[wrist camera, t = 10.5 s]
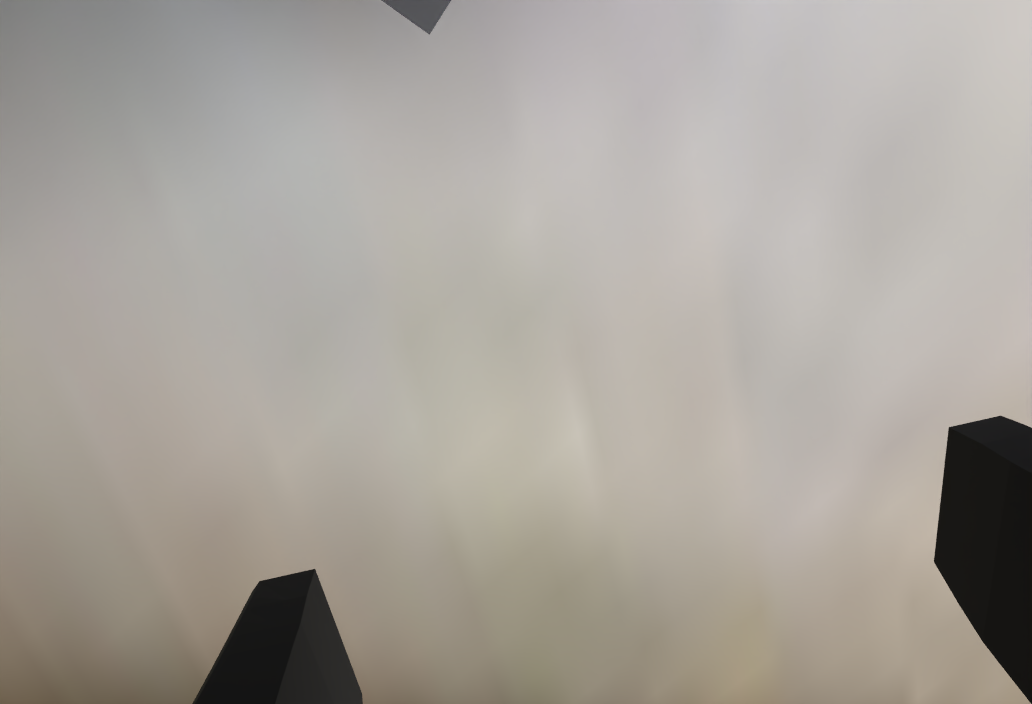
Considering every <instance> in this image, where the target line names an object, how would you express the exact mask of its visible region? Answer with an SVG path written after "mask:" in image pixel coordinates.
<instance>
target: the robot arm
mask: <svg viewBox="0 0 1032 704" xmlns="http://www.w3.org/2000/svg"><path fill="white" fill-rule="evenodd" d="M934 563H935V564H936V566H937V568H938V569H939V571H940V573H941V574H942V576H943V578H944V580H945V581H946V583H947V585H948V586H949V588H950V590H951V591H952V593H953V595H954V597H955V598H956V600H957V602H958V603H959V605H960V607H961V608H962V610H963V611H964V613H965V614H966V616H967V618H968V619H969V621H970V622H971V624H972V626H973V627H974V629H975V630H976V632H977V633H978V635H979V637H980V638H981V640H982V641H983V643H984V644H985V645H986V646H987V648H988V649H989V650H990V652H991V653H992V654H993V656H994V657H995V658H996V659H997V661H998V662H999V663H1000V665H1001V666H1002V667H1003V668H1004V670H1005V671H1006V672H1007V673H1008V675H1009V676H1010V677H1011V678H1012V680H1013V681H1014V682H1015V684H1016V685H1017V686H1018V687H1019V689H1020V690H1021V691H1022V692H1023V694H1024V695H1025V696H1026V697H1027V699H1028V700H1029V701H1030V703H1031V704H1032V428H1031V427H1028V426H1026V425H1023V424H1021V423H1018V422H1016V421H1013V420H1011V419H1008V418H1005V417H1003V416H998V417H993V418H989V419H984V420H980V421H975V422H971V423H966V424H962V425H957V426H953V427H949V431H948V440H947V449H946V458H945V467H944V476H943V485H942V494H941V503H940V512H939V521H938V530H937V539H936V548H935V557H934ZM193 704H363V702H362V693H361V690H360V687H359V685H358V682H357V679H356V677H355V674H354V671H353V669H352V666H351V663H350V661H349V658H348V655H347V653H346V650H345V647H344V645H343V642H342V639H341V637H340V634H339V631H338V629H337V626H336V623H335V621H334V618H333V616H332V613H331V610H330V608H329V605H328V602H327V600H326V597H325V594H324V592H323V589H322V586H321V584H320V581H319V578H318V576H317V573H316V570H315V569H313V570H308V571H304V572H299V573H295V574H290V575H286V576H281V577H277V578H272V579H268V580H263V581H259V583H258V584H257V586H256V587H255V588H254V590H253V591H252V593H251V595H250V597H249V599H248V601H247V603H246V604H245V606H244V608H243V610H242V612H241V614H240V616H239V618H238V620H237V622H236V624H235V626H234V627H233V629H232V631H231V633H230V635H229V637H228V639H227V641H226V643H225V645H224V647H223V648H222V650H221V652H220V654H219V656H218V658H217V660H216V662H215V663H214V665H213V667H212V669H211V671H210V673H209V674H208V676H207V678H206V680H205V682H204V684H203V685H202V687H201V689H200V691H199V693H198V695H197V696H196V698H195V700H194V702H193Z"/></svg>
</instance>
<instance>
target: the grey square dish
mask: <svg viewBox="0 0 1032 704" xmlns="http://www.w3.org/2000/svg"><path fill="white" fill-rule="evenodd" d="M382 1H383V2H385V3H386V4H387V5H389V6H390V7H392V8H393V9H394V10H396V11H397V12H399V13H400V14H401V15H403V16H404V17H406V18H407V19H408V20H410V21H411V22H413V23H414V24H415V25H417V26H418V27H420V28H421V29H423V30H424V31H425V32H427V33H428V34H430V33H431V31H432V30H433V28H434V27H435V25H436V23H437V22H438V20H439V19H440V17H441V15H442V14H443V12H444V11H445V9H446V8H447V6H448V4H449V3H450V1H451V0H382Z"/></svg>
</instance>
